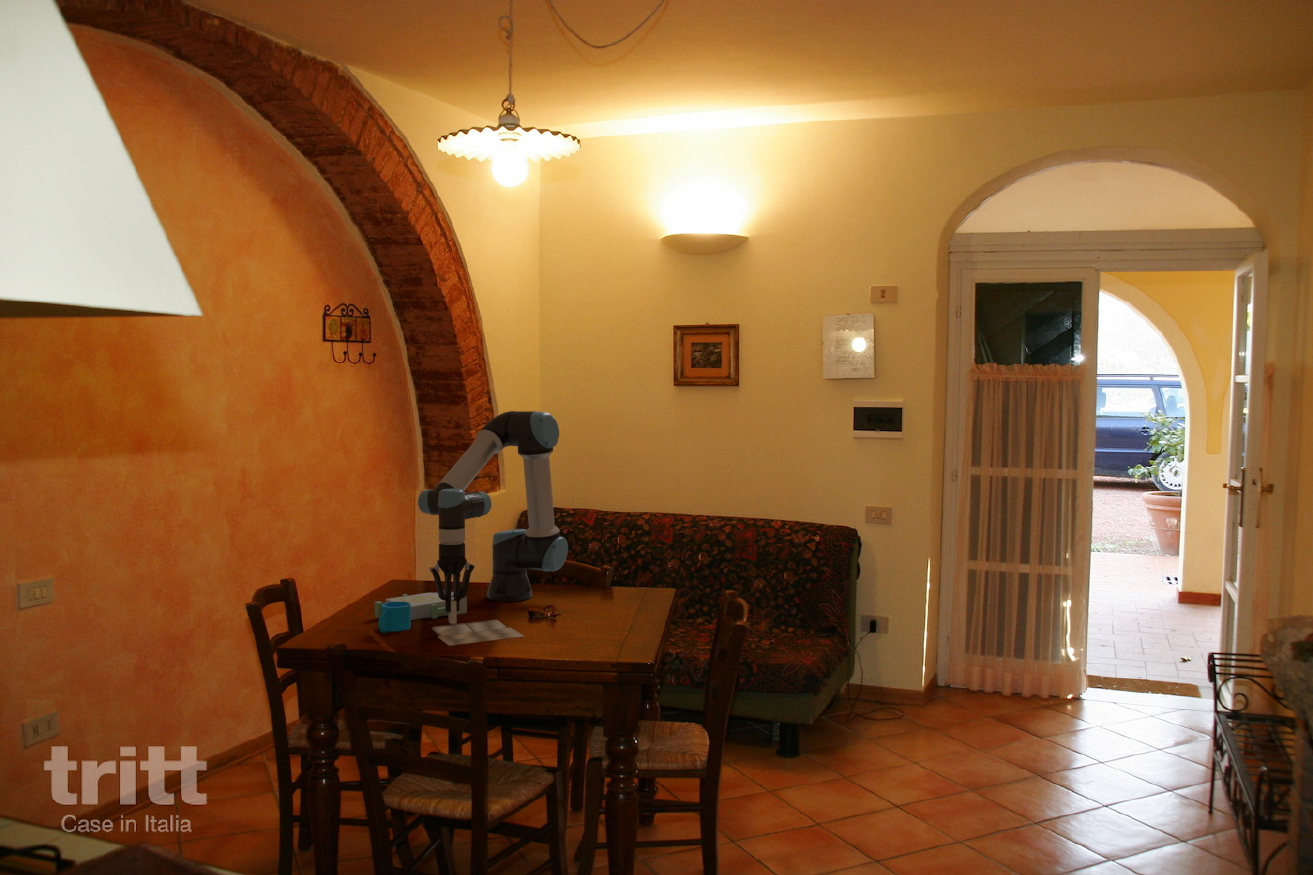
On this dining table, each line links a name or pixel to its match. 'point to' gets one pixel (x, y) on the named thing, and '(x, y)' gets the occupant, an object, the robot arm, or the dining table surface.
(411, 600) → the decorative block
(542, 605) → the dining table surface
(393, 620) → the mug
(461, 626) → the plank
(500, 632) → the floor board
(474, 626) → the grey rectangular panel
